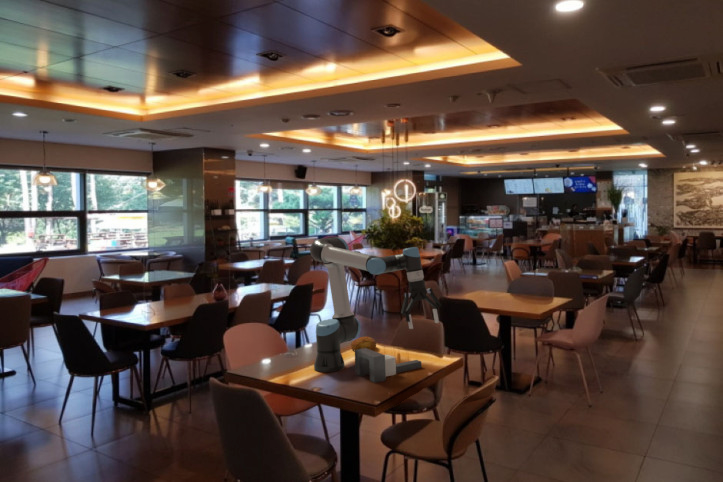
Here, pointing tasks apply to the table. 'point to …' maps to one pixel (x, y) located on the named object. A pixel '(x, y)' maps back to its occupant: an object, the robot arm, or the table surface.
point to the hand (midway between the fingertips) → (424, 325)
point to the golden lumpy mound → (364, 343)
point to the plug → (399, 365)
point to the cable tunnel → (370, 364)
